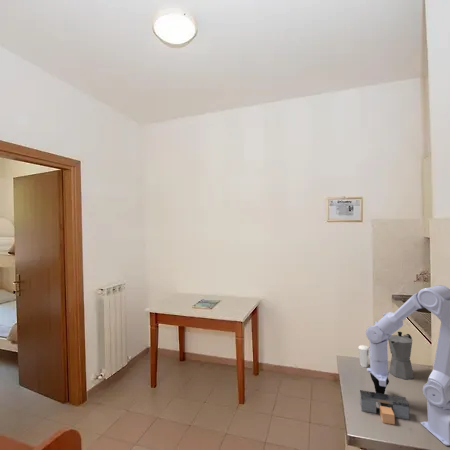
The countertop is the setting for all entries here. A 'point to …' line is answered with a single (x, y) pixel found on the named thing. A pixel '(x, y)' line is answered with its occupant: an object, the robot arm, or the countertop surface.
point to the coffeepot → (401, 356)
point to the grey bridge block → (397, 402)
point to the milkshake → (363, 355)
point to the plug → (386, 413)
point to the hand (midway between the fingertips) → (379, 396)
